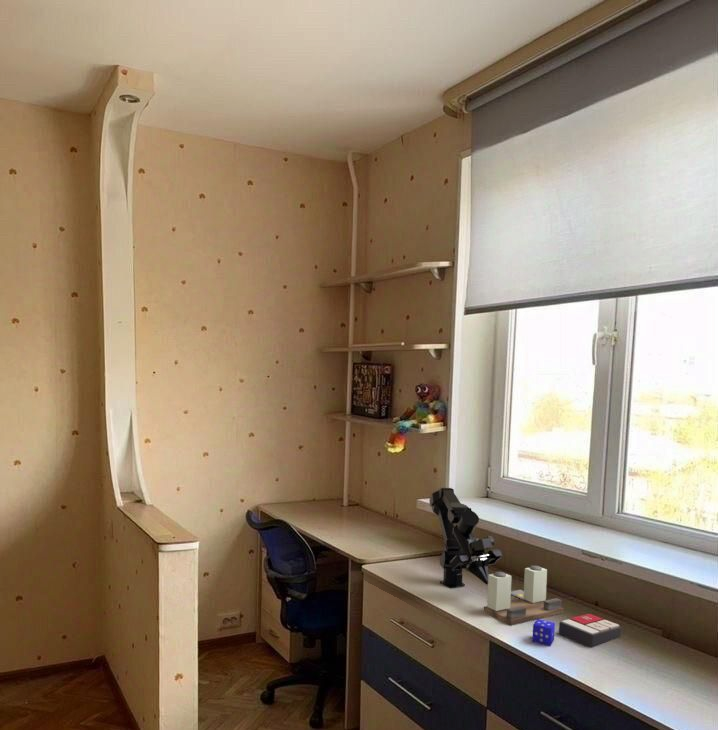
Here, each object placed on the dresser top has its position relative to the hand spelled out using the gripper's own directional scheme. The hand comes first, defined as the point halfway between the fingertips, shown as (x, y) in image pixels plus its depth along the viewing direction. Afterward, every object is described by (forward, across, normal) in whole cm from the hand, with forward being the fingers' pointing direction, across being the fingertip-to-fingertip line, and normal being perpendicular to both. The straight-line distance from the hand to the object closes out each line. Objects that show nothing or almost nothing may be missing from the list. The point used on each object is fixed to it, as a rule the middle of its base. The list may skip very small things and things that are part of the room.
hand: (488, 583), depth 203 cm
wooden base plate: (+11, +8, 0) cm, 14 cm away
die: (+24, -3, -13) cm, 27 cm away
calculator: (+26, +13, -14) cm, 33 cm away
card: (+3, +19, +8) cm, 21 cm away
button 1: (+8, 0, +1) cm, 8 cm away
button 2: (+8, +16, +1) cm, 18 cm away
